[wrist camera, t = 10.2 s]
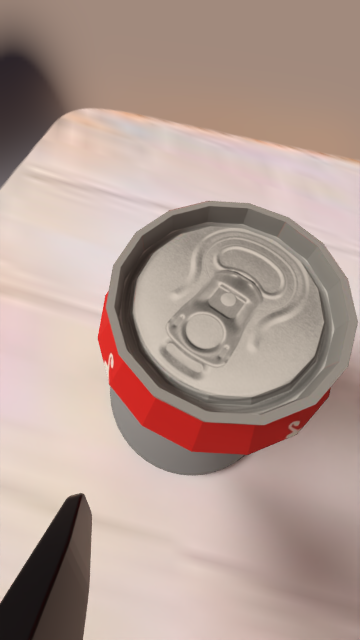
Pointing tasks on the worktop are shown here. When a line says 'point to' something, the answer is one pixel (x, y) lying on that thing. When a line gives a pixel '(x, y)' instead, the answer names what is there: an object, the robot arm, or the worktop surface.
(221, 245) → the soda can
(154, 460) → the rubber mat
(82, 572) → the robot arm
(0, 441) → the worktop surface
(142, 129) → the worktop surface
